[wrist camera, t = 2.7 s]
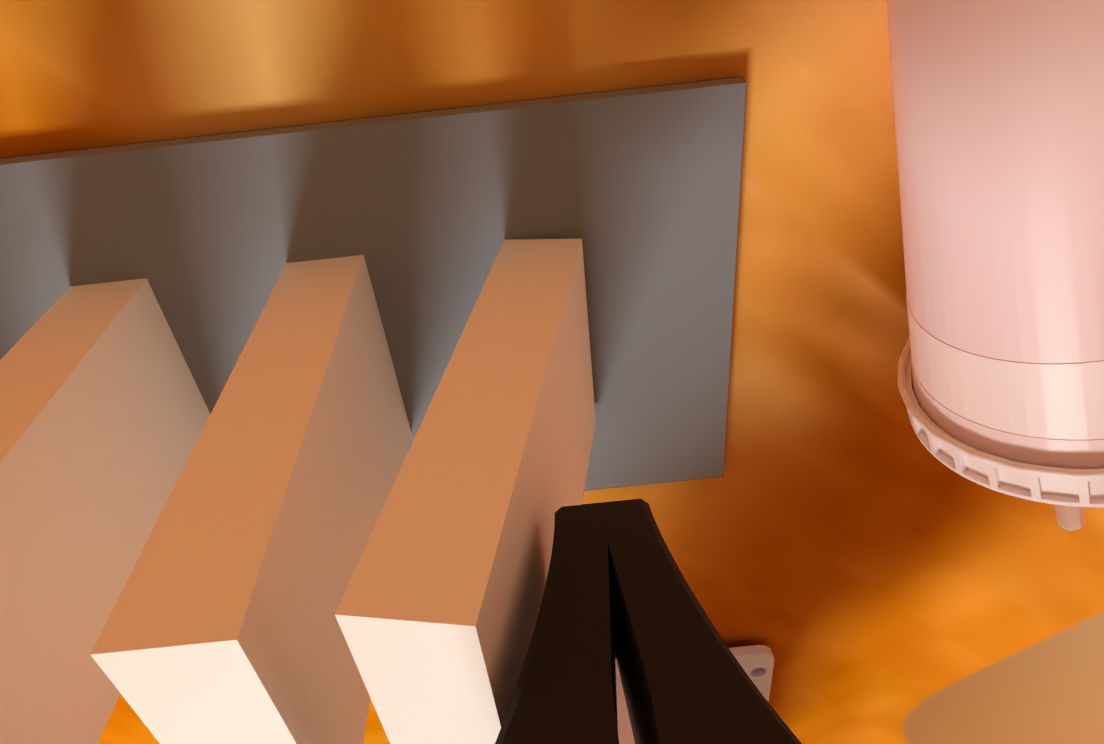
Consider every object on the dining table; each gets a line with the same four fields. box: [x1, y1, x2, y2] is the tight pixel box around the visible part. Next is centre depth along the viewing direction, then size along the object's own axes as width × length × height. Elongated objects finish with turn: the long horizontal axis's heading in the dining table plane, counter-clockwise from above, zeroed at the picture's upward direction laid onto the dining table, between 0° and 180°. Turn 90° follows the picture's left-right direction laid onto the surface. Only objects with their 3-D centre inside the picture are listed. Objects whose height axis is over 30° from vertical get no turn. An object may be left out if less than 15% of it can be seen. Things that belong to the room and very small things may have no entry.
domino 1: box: [0, 278, 210, 744], centre depth 13 cm, size 2×5×9 cm, turn 5°
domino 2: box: [90, 255, 411, 744], centre depth 13 cm, size 2×5×9 cm, turn 6°
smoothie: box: [886, 0, 1104, 531], centre depth 13 cm, size 6×6×14 cm
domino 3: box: [335, 239, 596, 744], centre depth 13 cm, size 2×5×9 cm, turn 5°
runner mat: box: [0, 77, 746, 491], centre depth 17 cm, size 10×26×1 cm, turn 95°
